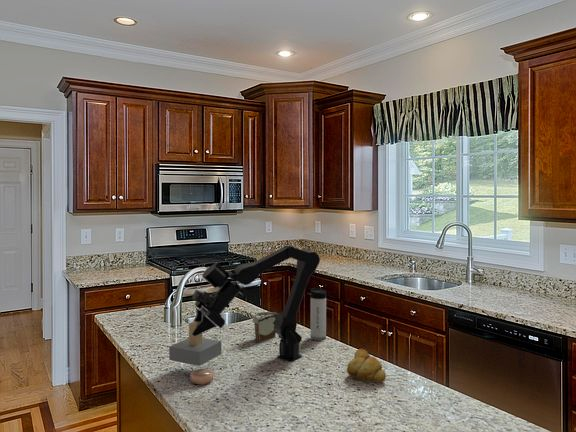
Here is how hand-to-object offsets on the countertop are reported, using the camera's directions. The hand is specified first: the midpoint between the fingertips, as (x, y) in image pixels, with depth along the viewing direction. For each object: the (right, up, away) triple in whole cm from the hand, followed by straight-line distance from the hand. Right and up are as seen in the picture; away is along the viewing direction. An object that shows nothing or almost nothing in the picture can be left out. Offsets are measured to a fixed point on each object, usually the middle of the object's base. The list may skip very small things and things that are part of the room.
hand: (191, 333), depth 153 cm
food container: (+21, -12, +37) cm, 44 cm away
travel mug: (+44, -11, +38) cm, 59 cm away
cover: (+1, -8, +1) cm, 8 cm away
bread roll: (+56, -14, -4) cm, 58 cm away
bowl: (+5, -13, -7) cm, 16 cm away
